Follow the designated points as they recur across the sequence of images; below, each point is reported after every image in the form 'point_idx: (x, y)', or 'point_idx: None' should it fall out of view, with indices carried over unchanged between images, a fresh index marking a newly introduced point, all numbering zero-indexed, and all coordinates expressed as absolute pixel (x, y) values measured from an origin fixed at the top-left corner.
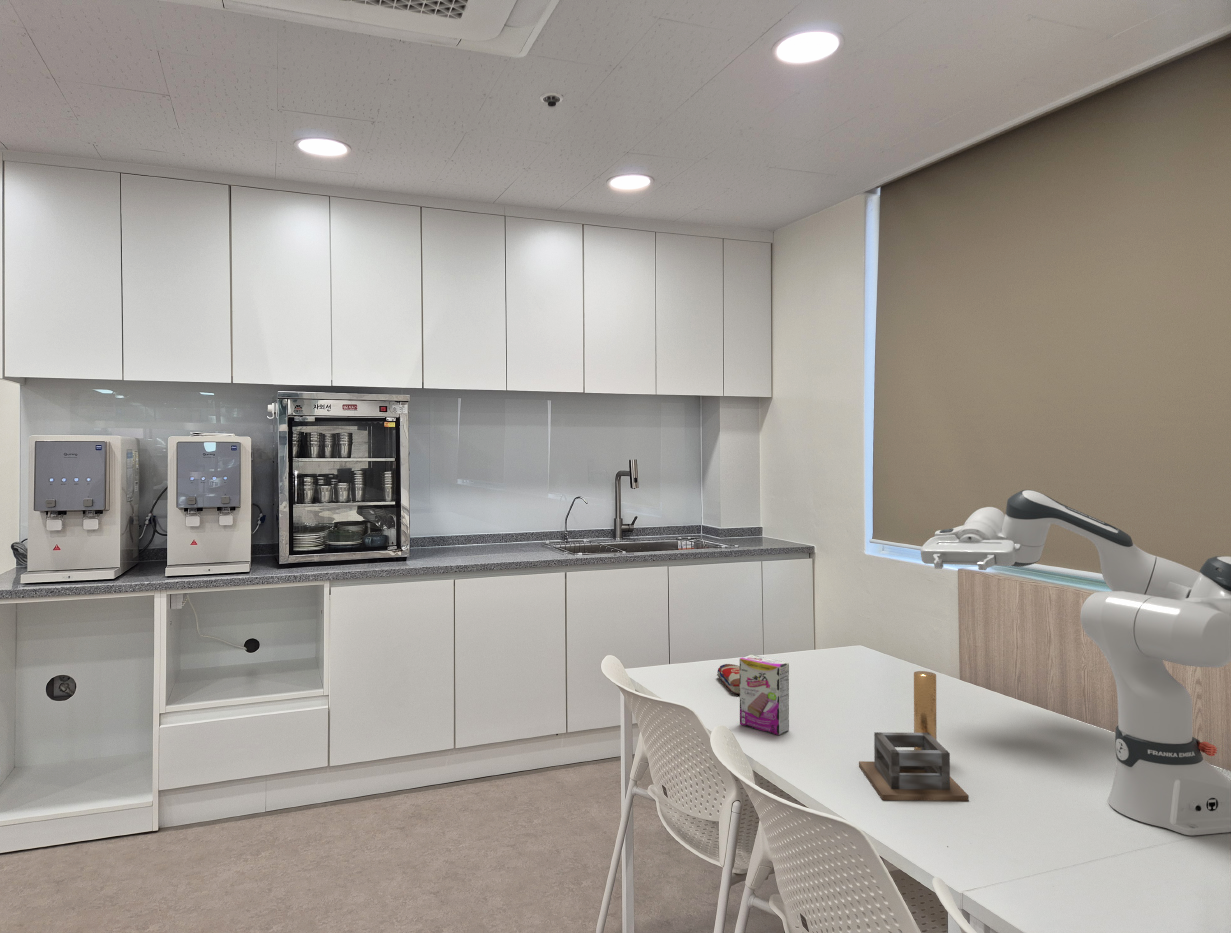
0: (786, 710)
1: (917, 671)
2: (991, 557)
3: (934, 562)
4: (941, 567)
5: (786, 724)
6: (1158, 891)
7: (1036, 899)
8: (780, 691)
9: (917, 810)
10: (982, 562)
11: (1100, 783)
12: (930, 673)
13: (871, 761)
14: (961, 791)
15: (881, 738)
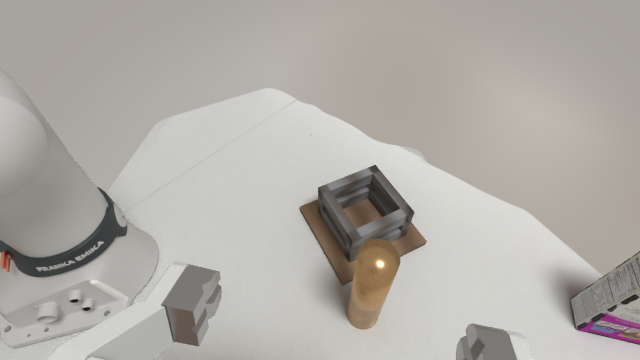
0: (595, 308)
1: (396, 269)
2: (80, 339)
3: (518, 334)
4: (459, 351)
5: (580, 316)
6: (180, 136)
7: (257, 105)
8: (614, 273)
9: (341, 174)
10: (184, 271)
11: None
12: (370, 264)
13: (413, 247)
14: (307, 212)
15: (399, 197)
